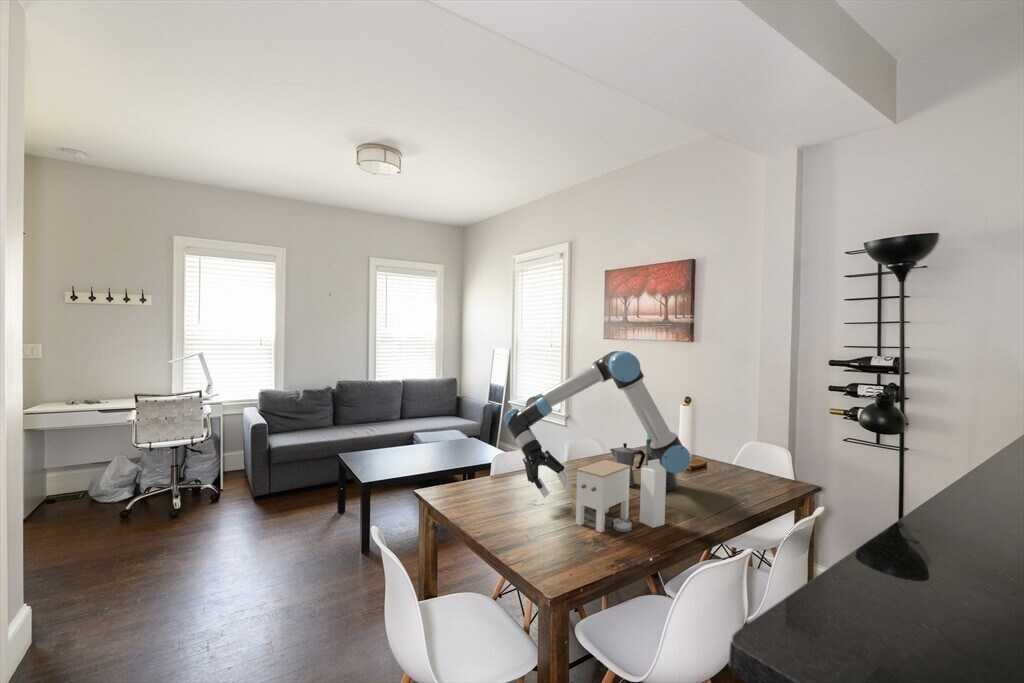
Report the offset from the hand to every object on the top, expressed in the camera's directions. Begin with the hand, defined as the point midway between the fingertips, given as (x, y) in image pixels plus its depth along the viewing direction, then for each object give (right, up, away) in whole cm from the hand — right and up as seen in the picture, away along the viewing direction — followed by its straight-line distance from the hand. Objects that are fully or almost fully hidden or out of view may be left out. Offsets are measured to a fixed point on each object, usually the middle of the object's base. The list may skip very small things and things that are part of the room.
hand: (558, 491), depth 170 cm
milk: (+31, -7, -13) cm, 34 cm away
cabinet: (+14, -6, -12) cm, 20 cm away
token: (+20, -7, -18) cm, 27 cm away
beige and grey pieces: (+11, -6, -11) cm, 17 cm away
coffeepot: (+33, -7, +31) cm, 46 cm away
